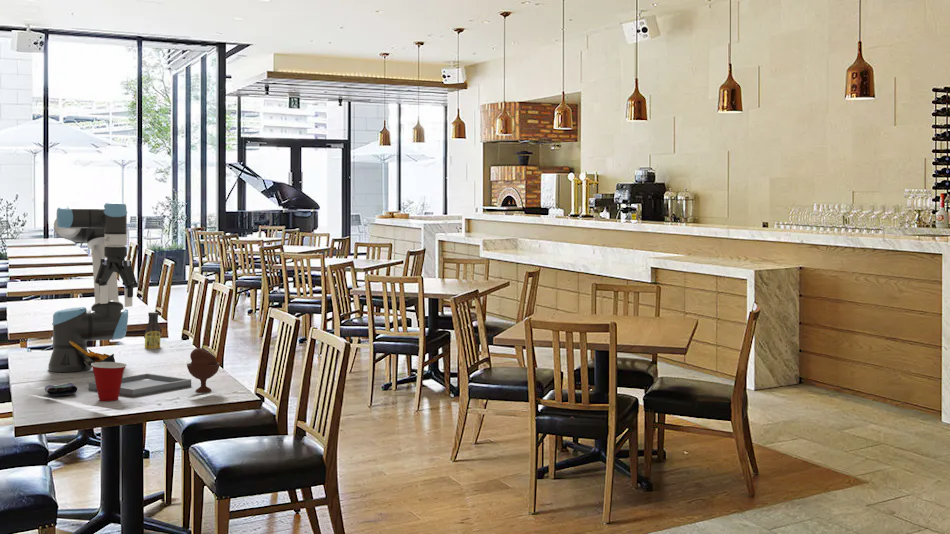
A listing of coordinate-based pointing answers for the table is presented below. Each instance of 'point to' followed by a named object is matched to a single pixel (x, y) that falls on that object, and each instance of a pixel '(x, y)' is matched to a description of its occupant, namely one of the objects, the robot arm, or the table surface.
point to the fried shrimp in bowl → (93, 356)
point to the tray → (147, 384)
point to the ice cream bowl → (203, 367)
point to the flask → (61, 389)
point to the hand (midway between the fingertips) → (116, 305)
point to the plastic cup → (108, 379)
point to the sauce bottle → (152, 332)
